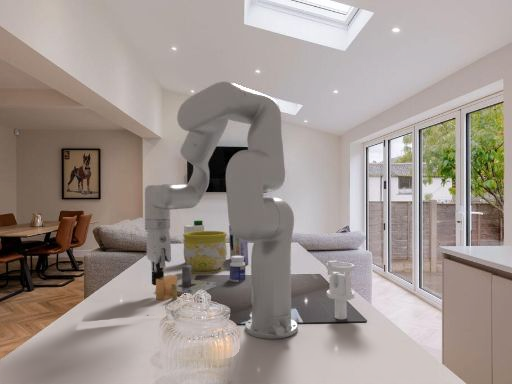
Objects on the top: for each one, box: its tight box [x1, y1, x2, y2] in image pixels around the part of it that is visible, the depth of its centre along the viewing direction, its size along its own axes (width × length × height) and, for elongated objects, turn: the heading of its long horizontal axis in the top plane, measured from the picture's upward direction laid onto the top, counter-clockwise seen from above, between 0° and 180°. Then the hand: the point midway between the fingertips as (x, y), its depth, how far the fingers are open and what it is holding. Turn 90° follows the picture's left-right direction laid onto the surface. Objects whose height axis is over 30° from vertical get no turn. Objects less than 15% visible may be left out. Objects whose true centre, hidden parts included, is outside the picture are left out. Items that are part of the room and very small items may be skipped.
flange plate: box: [155, 274, 217, 301], centre depth 115 cm, size 20×14×6 cm
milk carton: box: [183, 220, 205, 264], centre depth 170 cm, size 9×9×20 cm
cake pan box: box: [228, 224, 249, 265], centre depth 174 cm, size 19×5×18 cm, turn 17°
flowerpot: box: [182, 230, 228, 275], centre depth 150 cm, size 18×18×16 cm
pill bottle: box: [229, 256, 246, 283], centre depth 130 cm, size 6×6×10 cm
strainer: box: [326, 259, 355, 320], centre depth 94 cm, size 7×7×15 cm
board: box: [171, 264, 192, 301], centre depth 118 cm, size 26×26×9 cm
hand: (157, 284), depth 111 cm, fingers closed
